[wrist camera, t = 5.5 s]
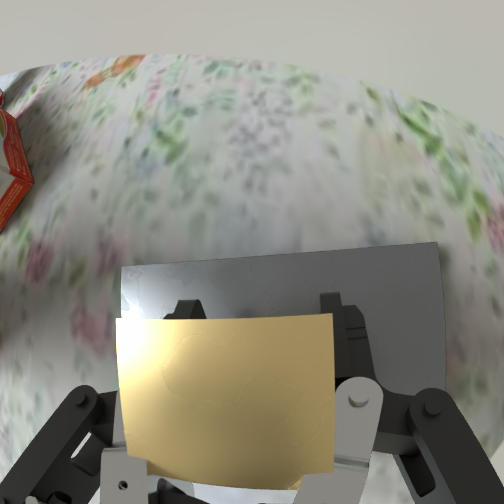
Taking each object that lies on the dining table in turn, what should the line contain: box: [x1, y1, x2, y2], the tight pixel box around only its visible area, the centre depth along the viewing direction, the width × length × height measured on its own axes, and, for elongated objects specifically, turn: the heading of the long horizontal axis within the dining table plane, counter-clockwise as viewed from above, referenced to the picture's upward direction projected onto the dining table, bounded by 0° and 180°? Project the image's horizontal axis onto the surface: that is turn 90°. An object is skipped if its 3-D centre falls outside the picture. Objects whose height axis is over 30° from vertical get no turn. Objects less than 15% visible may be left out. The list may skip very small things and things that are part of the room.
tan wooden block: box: [116, 313, 335, 490], centre depth 10 cm, size 4×4×10 cm
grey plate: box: [121, 242, 446, 396], centre depth 16 cm, size 18×10×2 cm, turn 92°
